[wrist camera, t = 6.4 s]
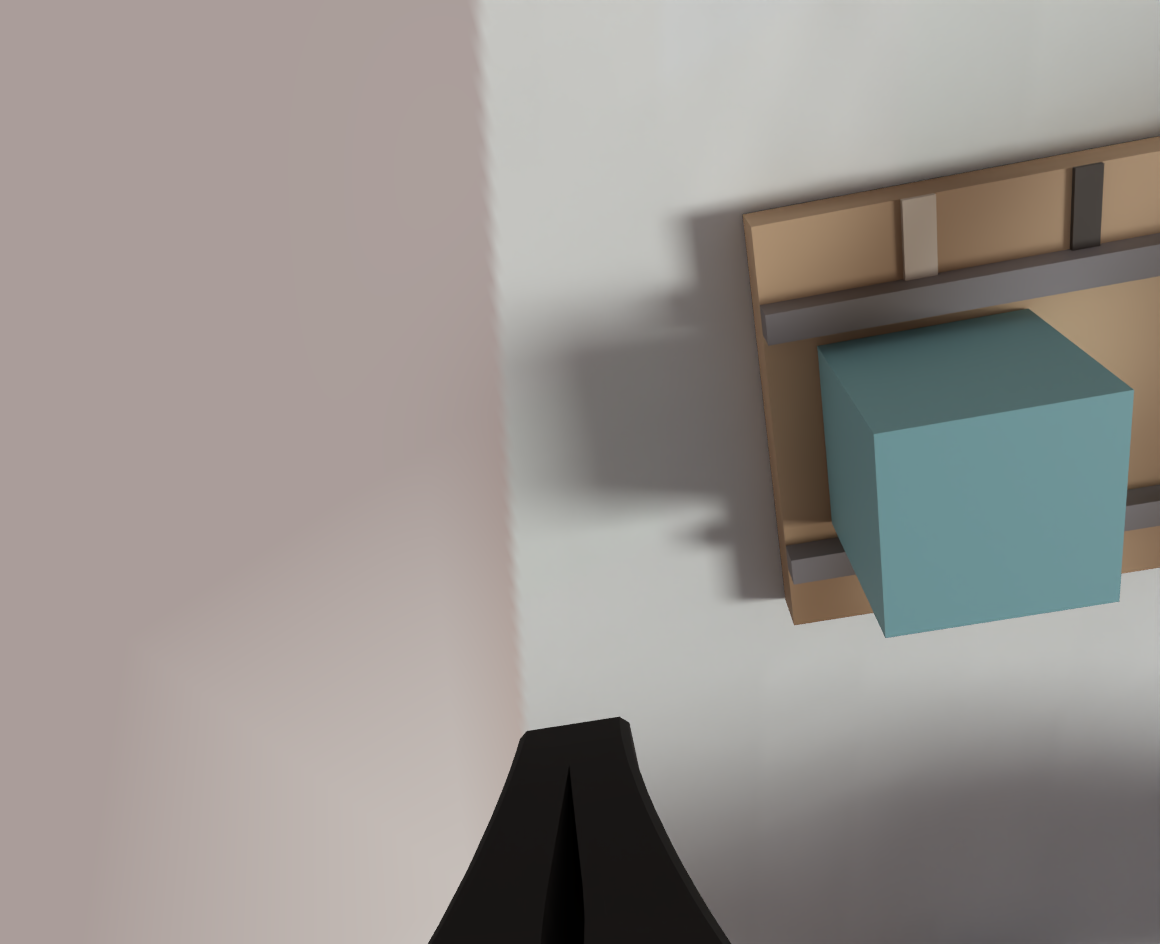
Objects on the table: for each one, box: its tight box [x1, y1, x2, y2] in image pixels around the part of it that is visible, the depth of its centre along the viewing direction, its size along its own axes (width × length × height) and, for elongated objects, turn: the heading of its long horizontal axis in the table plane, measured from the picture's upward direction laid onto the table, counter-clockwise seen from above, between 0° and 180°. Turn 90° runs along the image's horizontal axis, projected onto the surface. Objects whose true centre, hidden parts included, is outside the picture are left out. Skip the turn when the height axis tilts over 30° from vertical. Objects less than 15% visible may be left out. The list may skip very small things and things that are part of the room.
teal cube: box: [817, 309, 1134, 638], centre depth 18 cm, size 4×4×4 cm
